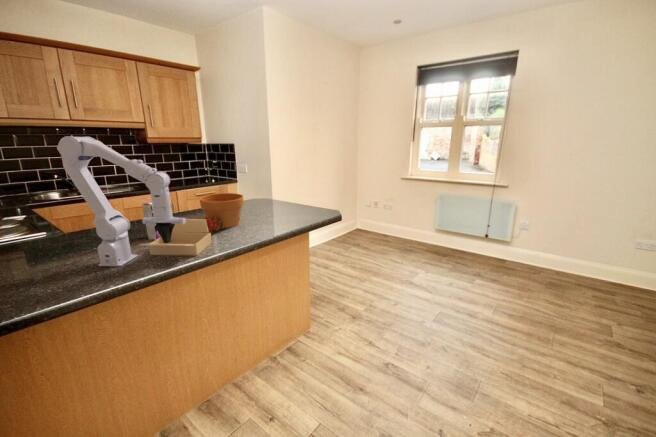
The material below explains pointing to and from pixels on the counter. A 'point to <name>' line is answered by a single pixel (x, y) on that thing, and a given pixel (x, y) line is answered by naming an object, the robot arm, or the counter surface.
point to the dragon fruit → (213, 224)
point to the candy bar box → (151, 230)
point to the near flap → (170, 244)
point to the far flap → (192, 226)
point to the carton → (182, 238)
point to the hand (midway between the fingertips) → (167, 242)
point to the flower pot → (223, 207)
